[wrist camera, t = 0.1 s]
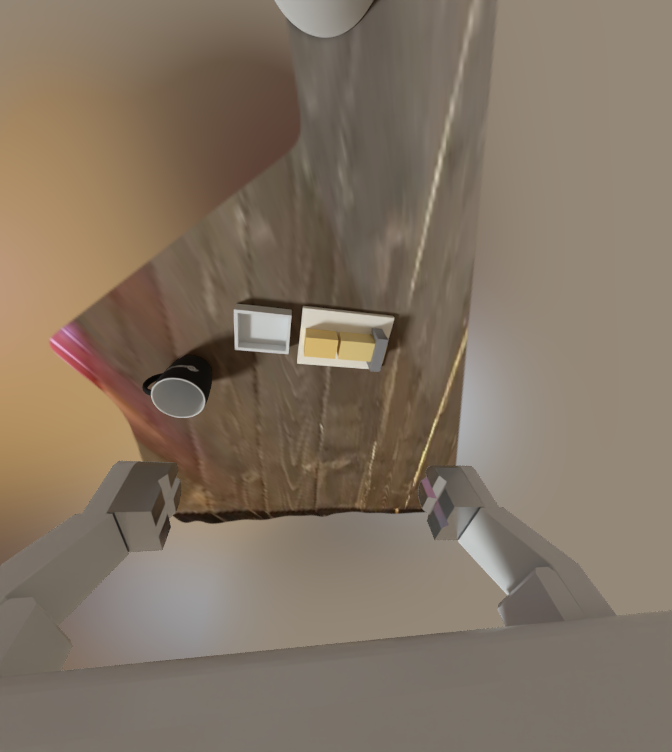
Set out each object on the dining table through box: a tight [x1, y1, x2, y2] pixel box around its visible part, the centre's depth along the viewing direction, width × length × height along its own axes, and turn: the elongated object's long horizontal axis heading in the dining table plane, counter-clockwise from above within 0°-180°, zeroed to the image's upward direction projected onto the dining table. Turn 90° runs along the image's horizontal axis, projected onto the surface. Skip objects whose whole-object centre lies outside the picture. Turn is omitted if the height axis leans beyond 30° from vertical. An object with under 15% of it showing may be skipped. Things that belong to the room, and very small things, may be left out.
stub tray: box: [234, 304, 292, 354], centre depth 56 cm, size 8×10×3 cm
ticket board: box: [297, 306, 395, 372], centre depth 58 cm, size 12×18×6 cm, turn 81°
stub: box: [304, 328, 339, 359], centre depth 57 cm, size 4×6×4 cm, turn 81°
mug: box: [143, 356, 212, 418], centre depth 56 cm, size 12×9×10 cm
